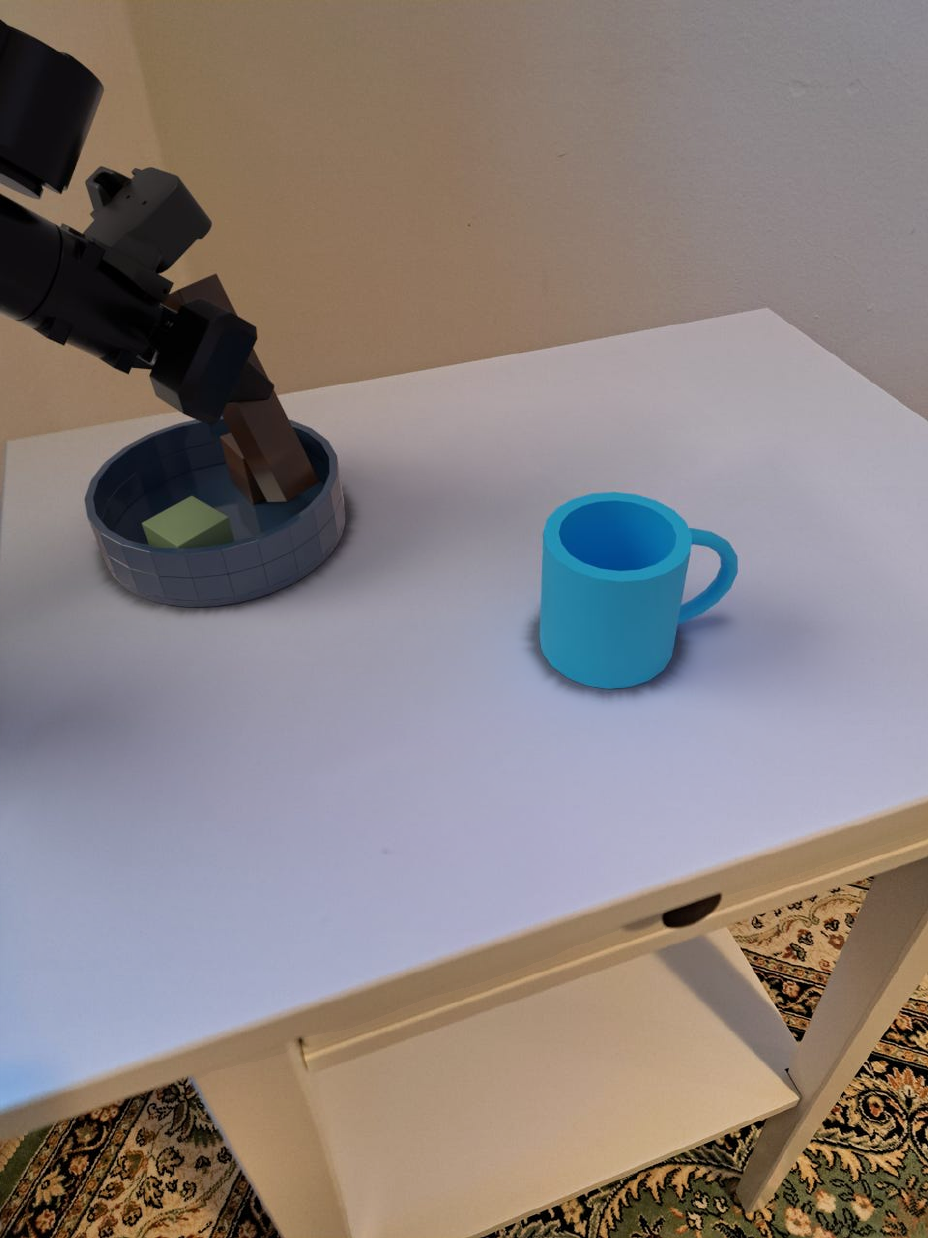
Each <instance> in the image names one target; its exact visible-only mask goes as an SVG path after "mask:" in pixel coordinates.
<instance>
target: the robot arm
mask: <svg viewBox="0 0 928 1238" xmlns="http://www.w3.org/2000/svg"><path fill="white" fill-rule="evenodd" d="M104 92H105V87H104V84H103V83H102V81H101V80H100V79H99V78H98V76H97V75H95V74H94V73H93V71H91V70H90V69H89V68H88V67H87V66H86V65H84V64H83V63H82V62H80V60H78V59H77V58H76V57H74V56H73V55H71V54H69V52H64V51H58V50H57V49H55V48H53V47H52V46H50V45H49V44H47V43H45V42H44V41H42V40H40V39H39V38H36V37H35V36H33V35H30V34H29V33H27V32H25V31H22V30H20V29H18V28H16V27H14V26H11V25H9V24H8V23H6V22H5V21H4V20H2V19H0V185H3V186H5V187H6V188H9V189H11V190H13V191H15V192H17V193H19V194H21V195H23V196H26V197H28V198H31V199H34V200H41V198H42V195H43V193H44V188H46V189H48V190H50V191H51V192H54V193H56V194H58V195H62V194H63V192H64V191H67V190H68V189H69V186H70V184H71V181H72V178H73V176H74V173H75V170H76V168H77V165H78V162H79V159H80V157H81V154H82V151H83V149H84V146H85V143H86V142H87V141H86V140H87V138H88V135H89V132H90V130H91V127H92V124H93V122H94V119H95V117H96V113H97V112H98V111H97V110H98V108H99V105H100V103H101V100H102V97H103V95H104ZM130 173H131V175H132V177H131V178H130V177H128V176H126V175H124V174H122V173H120V172H118V171H116V170H113V169H111V168H109V167H107V166H106V167H105V166H103V165H100V166H98V168H96V169H95V170H94V171H93V172H92V173H91V174H90V176H89V177H87V178H86V180H85V181H84V185H85V187H86V190H87V193H88V197H89V200H90V203H91V205H92V206H91V207H92V209H93V210H92V211H91V212H90V213H89V216H90V217H91V219H93V220H92V222H91V223H90V224H89V225H88V226H87V227H86V229H85V230H84V231H83V232H80V231H79V230H77V229H75V228H74V227H71V226H69V225H67V224H65V223H63V222H61V224H60V225H58V224H57V223H54V222H52V221H51V220H49V219H47V218H46V217H44V216H41V215H40V214H38V213H36V212H34V211H33V210H31V209H29V208H27V207H25V205H24V206H23V205H22V204H20V203H18V202H16V201H15V200H13V199H11V198H9V197H7V196H5V194H2V193H0V315H3V316H5V317H7V318H9V319H12V320H14V321H16V322H18V323H20V324H22V325H25V326H27V327H29V328H31V329H32V330H34V331H35V332H37V333H39V334H40V335H41V336H43V337H45V338H46V339H47V340H50V341H51V342H54V343H57V344H59V345H61V346H63V347H65V345H66V344H67V345H69V346H71V347H74V348H76V349H78V350H80V351H82V352H85V353H87V354H89V355H91V356H93V357H96V358H97V359H99V360H100V361H102V362H104V363H105V364H106V365H108V366H110V367H111V368H113V369H114V370H118V371H119V372H122V373H124V374H126V375H130V372H131V371H132V369H139V370H149V371H150V372H149V374H148V377H149V380H150V383H151V385H152V389H153V391H154V394H155V397H157V398H158V399H159V400H161V401H163V402H164V403H166V404H167V405H169V406H170V407H172V408H174V409H175V410H177V411H178V412H180V413H181V414H183V415H185V416H187V417H189V418H191V419H193V420H198V421H201V422H203V423H205V424H208V425H210V426H211V425H212V424H214V423H216V422H217V421H219V420H220V418H221V416H222V414H223V412H224V409H225V407H226V405H227V403H232V402H246V401H259V400H268V399H269V398H270V396H271V394H272V392H273V390H274V391H275V384H274V383H273V382H272V381H271V380H270V379H269V378H268V379H269V380H268V379H267V378H266V377H265V376H264V375H263V374H262V373H261V372H260V371H259V370H258V369H257V368H255V367H254V366H253V365H252V364H251V363H250V362H249V361H248V358H249V356H250V354H251V352H252V349H253V348H255V345H256V343H257V340H258V338H259V337H258V330H257V329H258V328H257V326H256V325H254V324H252V323H251V322H249V321H247V320H246V319H244V318H242V317H240V316H238V314H237V315H235V314H233V313H231V312H229V311H227V310H225V309H223V308H221V307H219V306H217V305H215V304H213V303H211V302H209V301H207V300H205V299H203V298H198V299H195V300H193V301H190V302H187V303H185V304H182V305H181V306H180V308H179V310H178V312H176V311H174V310H172V309H170V308H168V307H166V306H165V305H163V303H162V302H165V301H166V300H167V298H168V296H169V294H171V292H172V289H173V288H174V287H173V286H174V284H175V282H174V281H172V280H170V279H169V278H166V277H165V276H163V275H161V274H162V273H164V272H166V271H168V270H169V269H170V268H172V267H173V265H174V264H175V263H177V261H178V260H179V259H180V258H181V257H182V256H183V255H184V254H185V253H186V252H187V251H188V250H189V249H190V248H191V247H192V245H194V243H195V242H196V241H198V240H203V239H204V238H205V237H206V236H207V234H209V232H210V230H211V229H212V225H213V221H212V219H210V217H209V215H207V213H206V212H205V210H204V209H203V208H202V206H201V205H200V204H199V202H198V201H197V199H196V198H195V197H194V195H193V193H191V191H190V190H189V189H188V187H187V186H186V185H185V183H184V182H183V181H182V179H181V178H180V176H178V175H176V174H174V173H172V172H167V171H165V170H161V169H158V168H156V167H152V166H149V167H145V168H143V169H140V168H137V167H135V168H133V169H132V170H131V172H130Z"/></svg>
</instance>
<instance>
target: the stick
mask: <svg viewBox="0 0 928 1238" xmlns="http://www.w3.org/2000/svg"><path fill="white" fill-rule="evenodd" d="M198 298H203V299H205V300H207V301H209V302H211V303H213V304H215V305H217V306H219V307H221V308H223V309H225V310H227V311H229V312H231V313H233V314H235V315H237V316H238V314H237V312H236V310H235V308H234V305H233V304H232V302H231V300H230V298H229V296H228V293H227V292H226V290H225V287H224V285H223V284H222V282H221V280H220V278H219V276H218V273H213V274H211V275H209V276H206V277H204V278H202V279H199V280H196V281H194V282H191V283H190V284H188V285H185V286H182V287H181V288H179V289H176V290H174V291H173V292H170V293H169V296H168V298H167V300H166V301H165V302H162V303H163V305H165V306H166V307H168V308H170V309H172V310H174V311H176V312H178V310H179V308H180V306H181V305H182V304H185V303H187V302H190V301H193V300H195V299H198ZM248 361H249V362H250V363H251V364H252V365H253V366H254V367H255V368H257V369H258V370H259V371H260V372H261V373H262V374H263V375H264V376H265V377H266V378H267V379H268V380H270V379H269V377H268V374H267V373H266V371H265V368H264V366H263V364H262V362H261V361H260V359H259V356H258V355H257V352H256V350H255V347H253V349H252V352H251V354H250V356H249V358H248ZM222 417H223V418H224V420H225V422H226V424H227V426H228V428H229V430H230V432H231V434H232V436H233V437H234V439H235V441H236V443H237V445H238V447H239V449H240V451H241V453H242V455H243V456H244V458H245V460H246V462H247V464H248V466H249V468H250V470H251V472H252V474H253V475H254V477H255V479H256V481H257V483H258V485H259V487H260V489H261V491H262V492H263V494H264V496H265V498H266V500H267V502H288V501H289V500H291V499H293V498H294V497H296V496H297V495H299V494H301V493H302V492H304V491H306V490H307V489H309V488H310V487H312V486H314V485H315V484H317V483H318V482H319V480H318V478H317V476H316V474H315V472H314V470H313V467H312V465H311V463H310V461H309V459H308V457H307V455H306V453H305V451H304V449H303V447H302V445H301V443H300V441H299V439H298V437H297V435H296V433H295V431H294V429H293V427H292V425H291V423H290V421H289V420H290V419H289V417H288V415H287V413H286V410H285V409H284V407H283V405H282V403H281V401H280V399H279V397H278V395H277V393H276V391H275V389H274V390H273V392H272V394H271V396H270V398H269V399H268V400H259V401H246V402H232V403H227V405H226V407H225V409H224V412H223V414H222Z"/></svg>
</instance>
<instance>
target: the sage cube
mask: <svg viewBox="0 0 928 1238" xmlns="http://www.w3.org/2000/svg"><path fill="white" fill-rule="evenodd" d="M142 526H143V528H144V531H145V534H146V537H147V540H148V543H149V546H153V547H163V548H182V549H190V548H199V547H208V546H218V545H223V544H227V543H231V542H235V540H234V536H233V533H232V529H231V525H230V521H229V518H228V517H227V516H226V515H224V514H222V513H221V512H219V511H217V510H215V509H214V508H212V507H210V506H209V505H207V504H205V503H204V502H202V501H200V500H198V499H197V498H195V497H193V496H190V497H188V498H187V499H185V500H183V501H181V502H179V503H177V504H176V505H174V506H172V507H170V508H168V509H167V510H165V511H163V512H161V513H159V514H157V515H156V516H154V517H152V518H150V519H148V520H147V521H145V522H143V523H142Z"/></svg>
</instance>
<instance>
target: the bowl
mask: <svg viewBox="0 0 928 1238" xmlns="http://www.w3.org/2000/svg"><path fill="white" fill-rule="evenodd" d="M289 421H290V423H291V425H292V427H293V429H294V431H295V433H296V435H297V437H298V439H299V441H300V443H301V445H302V447H303V449H304V451H305V453H306V455H307V457H308V459H309V461H310V463H311V465H312V467H313V470H314V472H315V474H316V476H317V478H318V480H319V482H318V483H317V484H315V485H314V486H312V487H310V488H309V489H307V490H306V491H304V492H302V493H301V494H299V495H297V496H296V497H294V498H293V499H291V500H289V501H288V502H267V500H265V501H262V502H260V503H257V504H255V505H254V504H252V503H251V502H250V500H249V499H248V498H247V497H246V496H245V495H244V494H243V493H242V492H241V491H240V490H239V489H238V488H237V487H236V486H235V485H234V484H233V483H232V482H231V478H230V474H229V470H228V467H227V463H226V459H225V455H224V451H223V447H222V443H221V439H220V436H223V435H226V434H228V433H231V432H230V430H229V428H228V426H227V424H226V422H225V420H224V418H223V417H222V416H221V418H220V420H219V421H217V422H216V423H214V424H212V425H211V426H210V425H208V424H205V423H203V422H201V421H198V420H196V419H192V420H188V421H183V422H178V423H175V424H173V425H170V426H166V427H164V428H161V429H159V430H155V431H153V432H150V433H148V434H145V435H144V436H142V437H141V438H138V439H136V440H135V441H133V442H131V443H129V444H127V445H125V446H123V447H122V448H121V449H120V450H119V451H117V452H116V453H114V454H113V455H111V457H109V458H108V459H107V460H106V461H104V463H102V465H101V466H100V468H99V469H98V470H97V471H96V473H95V474H94V475H93V476H92V477H91V478H90V481H89V484H88V487H87V489H86V493H85V496H84V506H85V507H84V508H85V511H86V517H87V520H88V523H89V525H90V528H91V531H92V532H93V536H94V537H95V540H96V543H97V545H98V548H99V550H100V553H101V556H102V558H103V561H104V563H105V564H106V565H107V568H108V570H109V571H110V573H111V575H112V577H113V578H114V580H116V581H117V582H118V583H119V584H120V585H121V586H122V587H124V588H125V589H126V590H127V591H129V592H131V593H133V594H135V595H136V596H139V597H141V598H143V599H145V600H148V601H152V602H154V603H159V604H163V605H169V606H175V607H184V608H207V607H221V606H226V605H233V604H240V603H242V602H243V603H244V602H247V601H251V600H255V599H258V598H262V597H264V596H267V595H270V594H273V593H275V592H277V591H280V590H282V589H285V588H287V587H288V586H290V585H292V584H294V583H296V582H298V581H300V580H301V579H303V578H304V577H307V575H309V574H310V573H312V572H313V571H314V570H315V569H317V568H318V567H319V566H321V565H322V564H323V563H324V562H325V560H326V559H327V558H328V557H329V556H330V555H331V554H332V553H333V551H334V550H335V549H336V548H337V546H338V544H339V543H340V540H341V539H342V536H343V534H344V530H345V526H346V517H347V516H346V510H345V498H344V492H343V491H344V490H343V486H342V479H341V472H340V465H339V459H338V455H337V453H336V451H335V450H334V448H333V446H332V444H331V443H330V441H329V440H328V439H327V438H325V437H324V436H323V435H321V434H320V433H319V432H318V431H316V430H315V429H313V428H312V427H310V426H307V425H305V424H302V423H300V422H298V421H295V420H293V419H289ZM190 496H193V497H195V498H197V499H198V500H200V501H202V502H204V503H205V504H207V505H209V506H210V507H212V508H214V509H215V510H217V511H219V512H221V513H222V514H224V515H226V516H227V517H228V518H229V521H230V525H231V529H232V533H233V536H234V540H235V542H231V543H227V544H223V545H218V546H208V547H199V548H190V549H182V548H163V547H153V546H149V543H148V540H147V537H146V534H145V531H144V528H143V526H142V523H143V522H145V521H147V520H148V519H150V518H152V517H154V516H156V515H157V514H159V513H161V512H163V511H165V510H167V509H168V508H170V507H172V506H174V505H176V504H177V503H179V502H181V501H183V500H185V499H187V498H188V497H190Z"/></svg>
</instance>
